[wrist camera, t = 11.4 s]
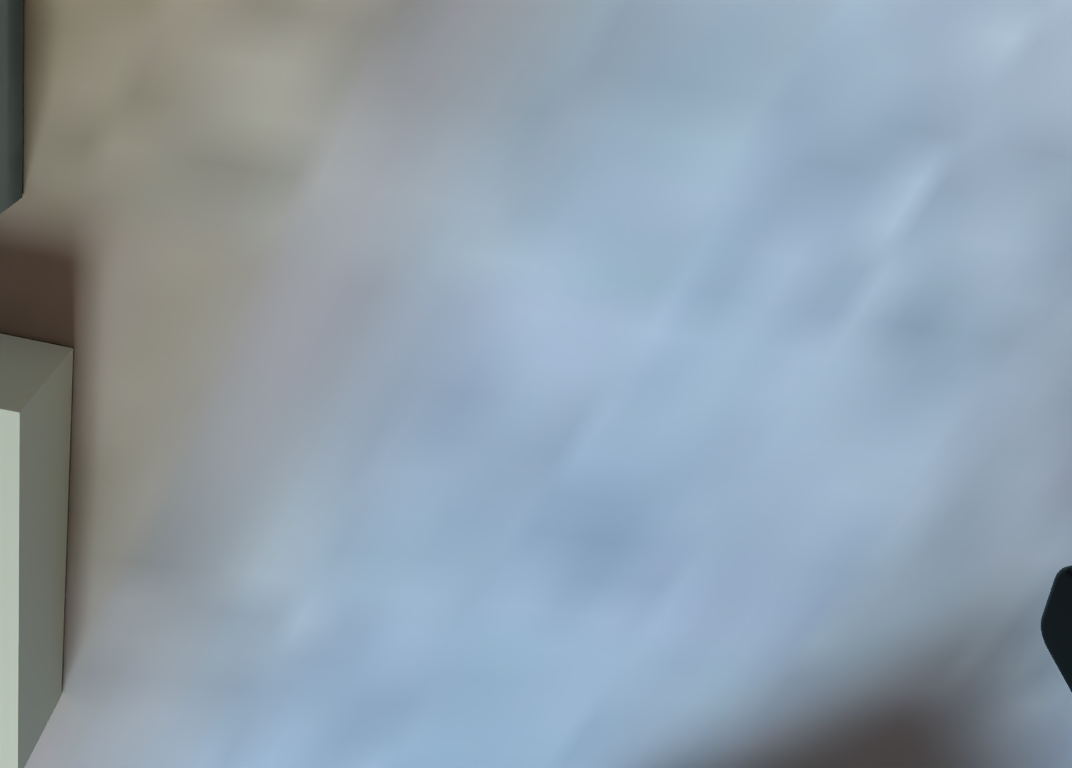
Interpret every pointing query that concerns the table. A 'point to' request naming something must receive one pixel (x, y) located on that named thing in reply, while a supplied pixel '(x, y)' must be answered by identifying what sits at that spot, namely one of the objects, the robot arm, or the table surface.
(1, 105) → the tray
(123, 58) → the table surface
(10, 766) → the collar block
